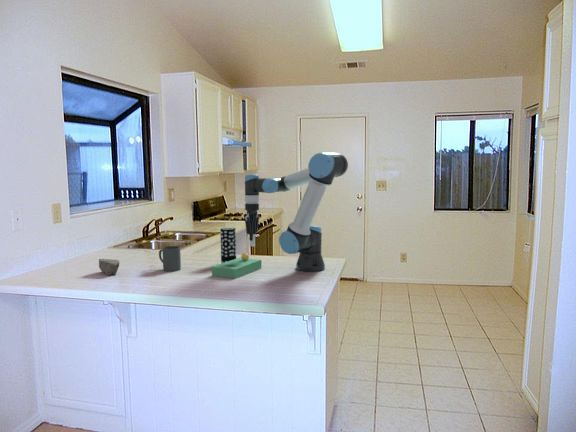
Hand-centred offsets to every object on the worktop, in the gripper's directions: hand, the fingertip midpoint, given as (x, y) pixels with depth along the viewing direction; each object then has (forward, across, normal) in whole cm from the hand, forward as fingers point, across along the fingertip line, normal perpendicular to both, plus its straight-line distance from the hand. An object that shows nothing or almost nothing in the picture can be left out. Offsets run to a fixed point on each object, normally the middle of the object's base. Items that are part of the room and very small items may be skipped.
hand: (252, 246), depth 250 cm
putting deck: (+11, +16, 0) cm, 19 cm away
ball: (+4, +8, 0) cm, 9 cm away
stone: (+12, +47, -58) cm, 75 cm away
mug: (+12, +26, -36) cm, 46 cm away
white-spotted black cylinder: (+12, +2, -14) cm, 19 cm away
